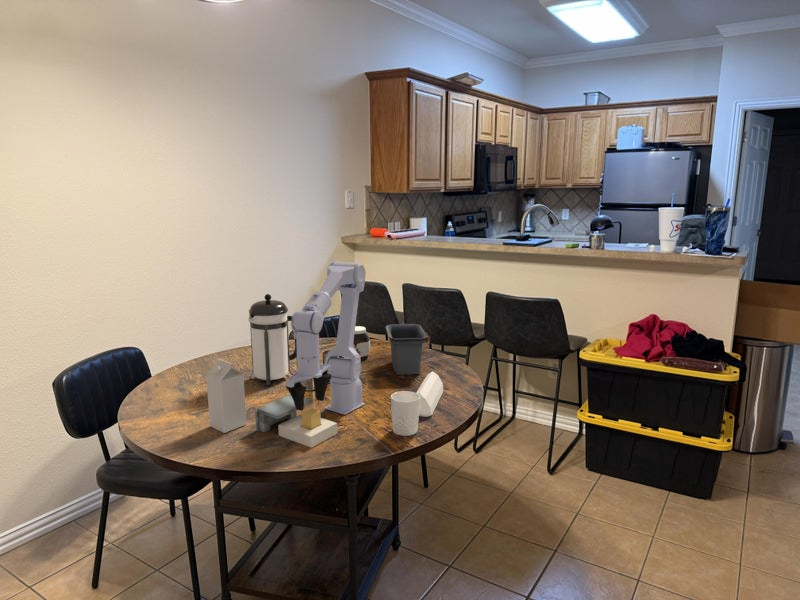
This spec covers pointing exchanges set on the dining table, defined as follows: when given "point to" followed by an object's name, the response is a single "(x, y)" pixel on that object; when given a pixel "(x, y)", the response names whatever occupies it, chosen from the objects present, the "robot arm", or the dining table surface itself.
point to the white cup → (405, 412)
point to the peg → (311, 418)
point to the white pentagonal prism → (429, 394)
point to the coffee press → (270, 340)
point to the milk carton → (226, 397)
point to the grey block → (276, 412)
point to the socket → (307, 431)
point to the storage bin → (406, 347)
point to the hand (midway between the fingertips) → (310, 404)
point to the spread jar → (361, 342)
